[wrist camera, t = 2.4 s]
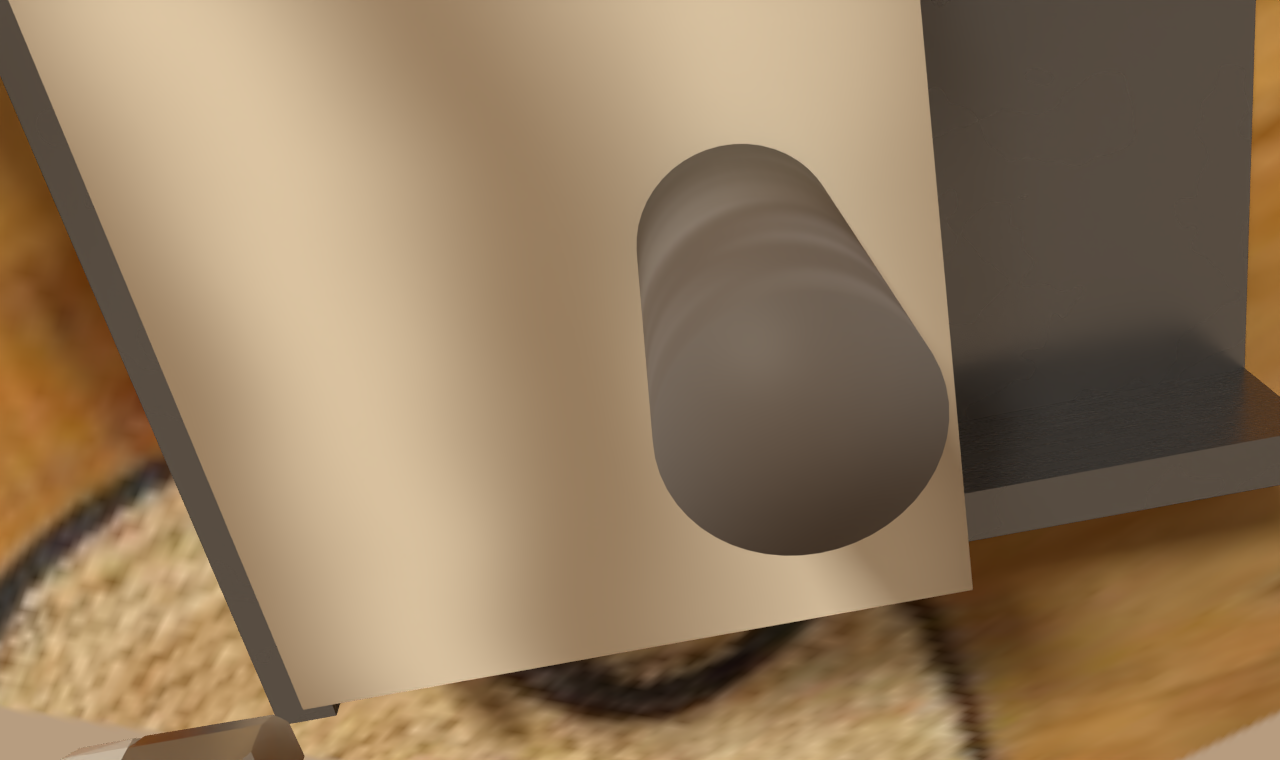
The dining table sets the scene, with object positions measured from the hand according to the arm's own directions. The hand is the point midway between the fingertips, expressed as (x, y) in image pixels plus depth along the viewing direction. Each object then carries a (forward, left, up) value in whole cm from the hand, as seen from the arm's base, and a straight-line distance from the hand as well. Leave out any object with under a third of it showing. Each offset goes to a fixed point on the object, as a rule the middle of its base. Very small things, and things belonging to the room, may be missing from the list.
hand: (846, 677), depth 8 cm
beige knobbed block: (+3, 0, -17) cm, 17 cm away
